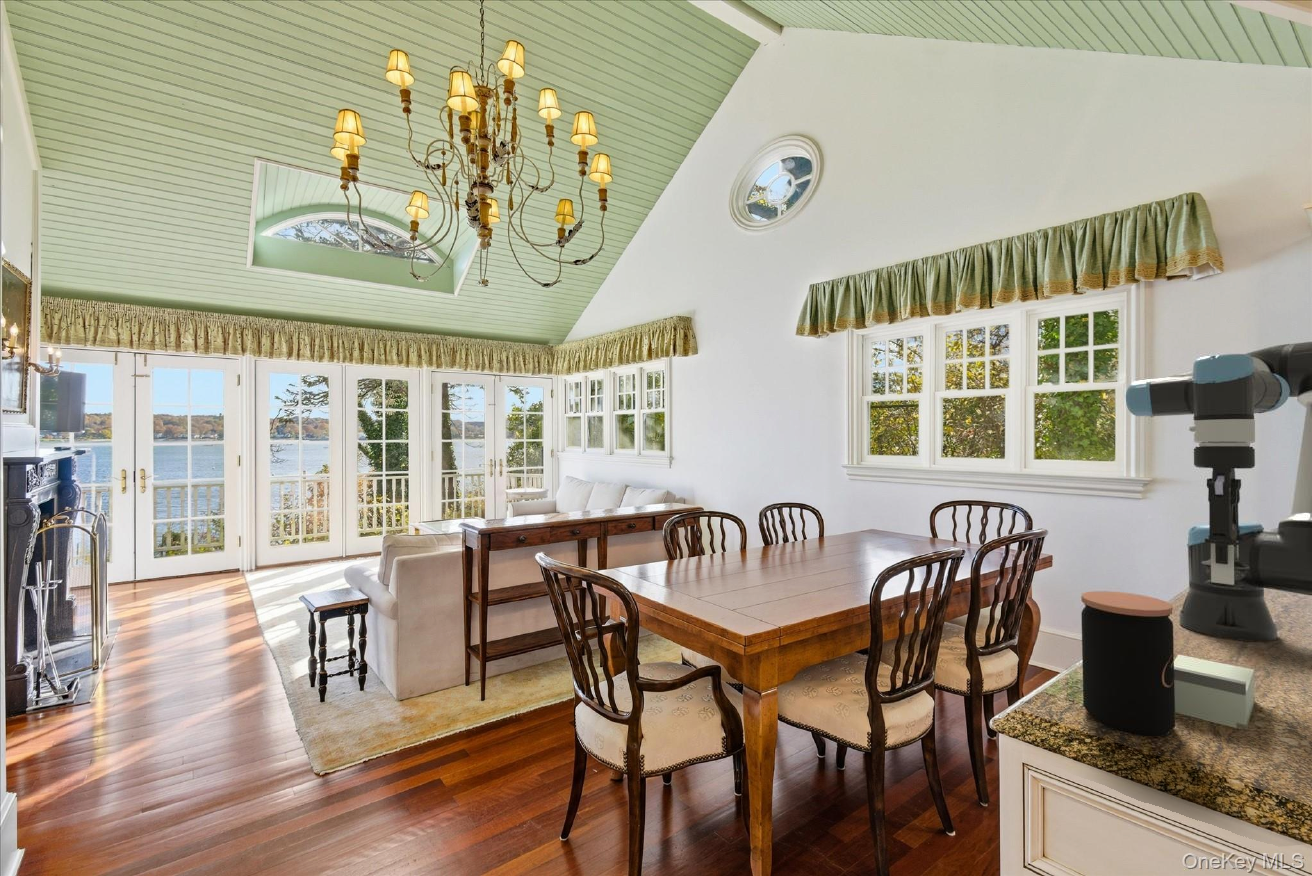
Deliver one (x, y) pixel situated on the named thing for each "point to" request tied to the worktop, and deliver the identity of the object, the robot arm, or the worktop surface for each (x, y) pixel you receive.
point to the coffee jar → (1128, 662)
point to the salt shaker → (1239, 568)
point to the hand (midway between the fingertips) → (1225, 579)
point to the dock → (1214, 691)
